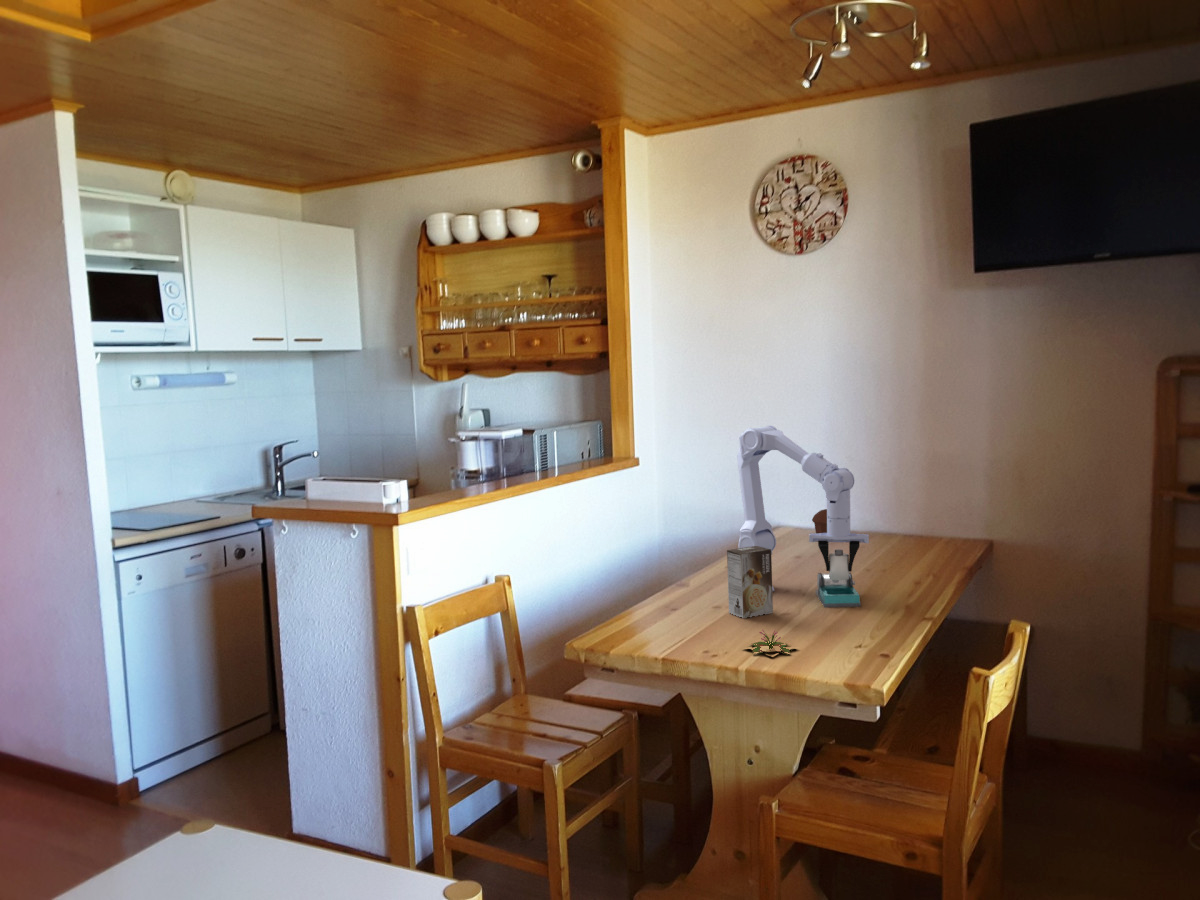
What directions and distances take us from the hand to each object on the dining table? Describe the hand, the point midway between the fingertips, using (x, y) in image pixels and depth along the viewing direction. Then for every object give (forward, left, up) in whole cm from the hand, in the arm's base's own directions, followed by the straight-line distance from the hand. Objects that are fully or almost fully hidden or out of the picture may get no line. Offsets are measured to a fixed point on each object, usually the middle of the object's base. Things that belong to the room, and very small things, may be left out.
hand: (839, 570), depth 243 cm
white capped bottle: (0, 0, -2) cm, 2 cm away
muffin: (+11, +84, -9) cm, 85 cm away
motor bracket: (0, +3, -8) cm, 9 cm away
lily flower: (-21, -39, -9) cm, 45 cm away
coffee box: (-23, -9, -9) cm, 26 cm away
